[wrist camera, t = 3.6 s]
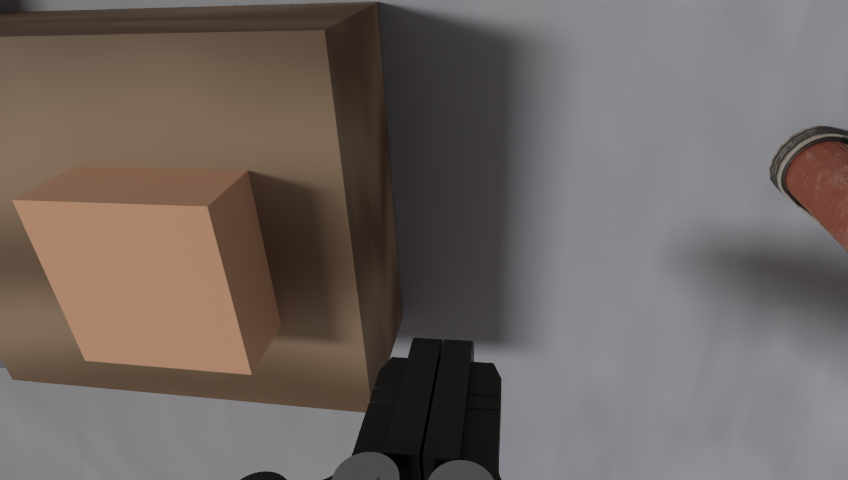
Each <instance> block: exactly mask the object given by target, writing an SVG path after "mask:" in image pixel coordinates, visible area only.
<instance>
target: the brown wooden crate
mask: <svg viewBox="0 0 848 480" xmlns="http://www.w3.org/2000/svg"><path fill="white" fill-rule="evenodd" d="M72 167H115V168H160V169H205V170H248V174H249V179H250V183H251V188H252V192H253V197H254V202H255V206H256V211H257V216H258V220H259V225H260V229H261V234H262V239H263V243H264V248H265V253H266V257H267V262H268V267H269V271H270V276H271V280H272V285H273V290H274V294H275V299H276V304H277V308H278V313H279V318H280V322H281V327H280V329H279V331H278V332H277V334H276V336H275V337H274V339H273V341H272V342H271V344H270V346H269V347H268V349H267V351H266V352H265V354H264V355H263V357H262V359H261V360H260V362H259V364H258V365H257V367H256V369H255V370H254V372H253V374H252V375H247V374H235V373H223V372H211V371H199V370H188V369H176V368H164V367H152V366H141V365H129V364H117V363H105V362H93V361H85V359H84V357H83V355H82V353H81V351H80V348H79V346H78V344H77V342H76V340H75V337H74V335H73V333H72V331H71V329H70V326H69V324H68V322H67V320H66V318H65V315H64V313H63V311H62V309H61V307H60V304H59V302H58V300H57V298H56V296H55V293H54V291H53V289H52V287H51V285H50V282H49V280H48V278H47V276H46V274H45V271H44V269H43V267H42V265H41V263H40V260H39V258H38V256H37V254H36V252H35V249H34V247H33V245H32V243H31V241H30V238H29V236H28V234H27V232H26V230H25V227H24V225H23V223H22V221H21V219H20V217H19V214H18V212H17V210H16V208H15V206H14V203H13V201H12V200H13V199H15V198H17V197H18V196H20V195H22V194H24V193H26V192H28V191H29V190H31V189H33V188H35V187H37V186H39V185H41V184H42V183H44V182H46V181H48V180H50V179H52V178H54V177H55V176H57V175H59V174H61V173H63V172H65V171H67V170H68V169H70V168H72ZM401 320H402V309H401V296H400V283H399V270H398V258H397V245H396V232H395V219H394V207H393V194H392V181H391V168H390V156H389V143H388V130H387V118H386V105H385V92H384V79H383V67H382V54H381V41H380V28H379V16H378V3H377V2H354V3H319V4H284V5H249V6H214V7H179V8H144V9H109V10H74V11H39V12H4V13H0V357H1V359H2V361H3V363H4V365H5V366H6V368H7V370H8V372H9V374H10V375H11V377H12V379H13V380H22V381H33V382H44V383H54V384H65V385H76V386H87V387H97V388H108V389H119V390H129V391H140V392H151V393H162V394H172V395H183V396H194V397H205V398H215V399H226V400H237V401H248V402H258V403H269V404H280V405H290V406H301V407H312V408H323V409H333V410H344V411H355V412H366V410H367V407H368V404H369V403H370V398H371V395H372V392H373V390H374V385H375V382H376V379H377V376H378V373H379V370H380V369H381V368H382V367H383V366H384V365H385V364H386V363H387V362H388V361H389V359H390V355H391V352H392V349H393V346H394V343H395V339H396V336H397V333H398V330H399V327H400V323H401Z"/></svg>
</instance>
